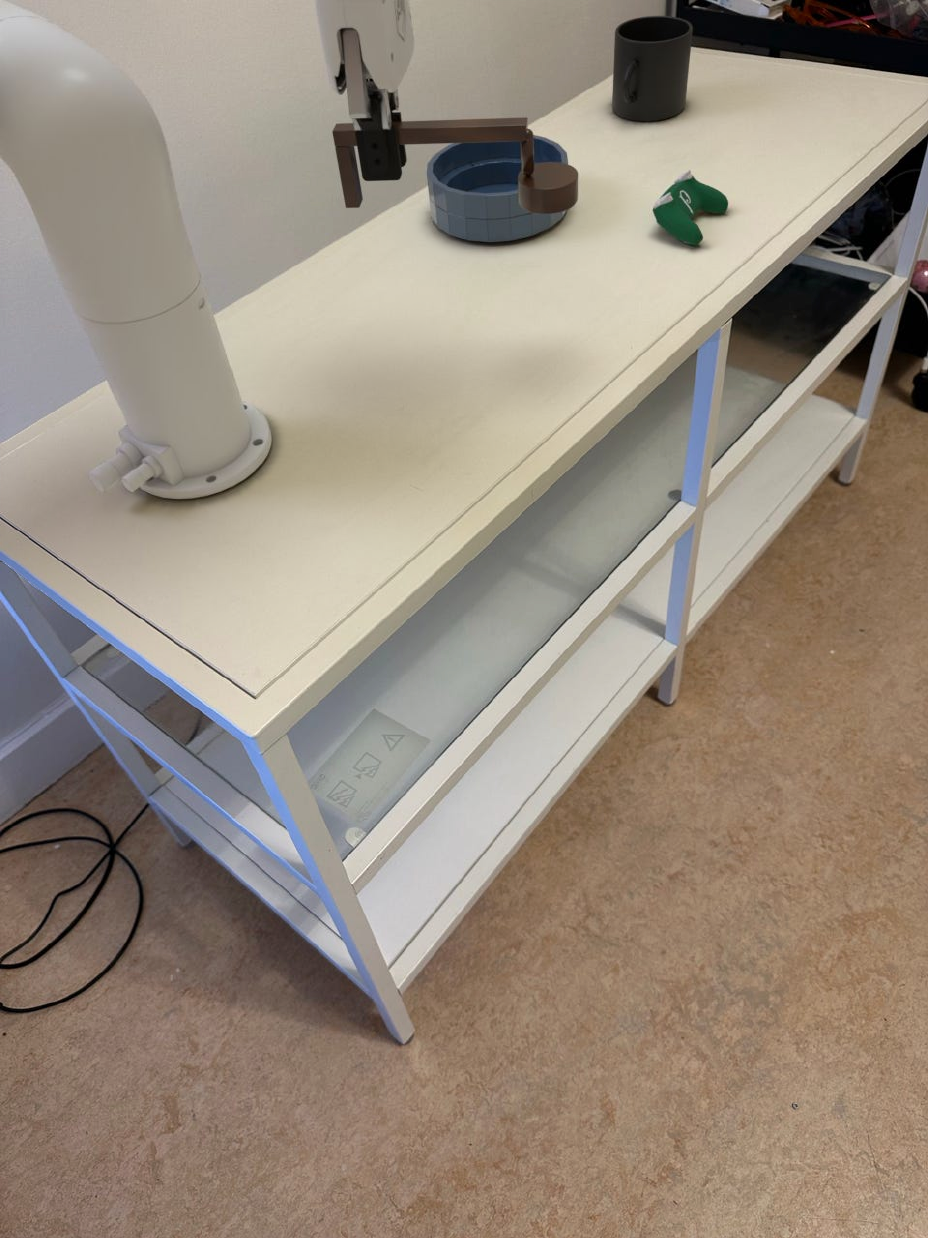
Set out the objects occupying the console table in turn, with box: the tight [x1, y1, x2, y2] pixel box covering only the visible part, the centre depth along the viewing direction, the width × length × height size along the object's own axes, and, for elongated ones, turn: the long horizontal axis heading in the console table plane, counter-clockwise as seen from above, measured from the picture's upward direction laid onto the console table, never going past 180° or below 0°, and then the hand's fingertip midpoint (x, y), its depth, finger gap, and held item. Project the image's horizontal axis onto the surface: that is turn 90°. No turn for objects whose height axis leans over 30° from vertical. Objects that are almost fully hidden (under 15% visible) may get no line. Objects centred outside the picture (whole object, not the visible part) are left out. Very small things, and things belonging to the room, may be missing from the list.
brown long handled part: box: [331, 116, 579, 214], centre depth 72 cm, size 19×5×6 cm, turn 83°
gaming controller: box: [652, 169, 729, 247], centre depth 96 cm, size 9×4×6 cm
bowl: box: [426, 134, 569, 243], centre depth 100 cm, size 15×15×6 cm
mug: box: [611, 15, 694, 122], centre depth 113 cm, size 9×12×9 cm
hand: (385, 170), depth 73 cm, fingers closed on brown long handled part, 1 cm apart
